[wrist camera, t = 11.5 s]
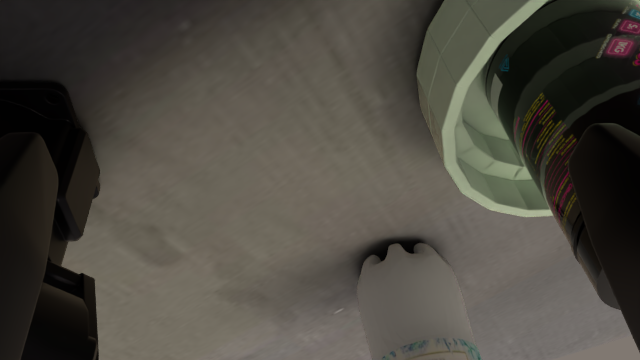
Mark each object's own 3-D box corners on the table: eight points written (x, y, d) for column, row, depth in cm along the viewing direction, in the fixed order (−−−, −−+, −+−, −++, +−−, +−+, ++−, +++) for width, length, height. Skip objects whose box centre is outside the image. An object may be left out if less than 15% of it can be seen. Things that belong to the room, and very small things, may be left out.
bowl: (390, 154, 25) (412, 222, 22) (457, -127, 16) (508, -80, 13) (616, 149, 27) (665, 211, 24) (787, -110, 18) (902, -64, 15)
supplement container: (634, 83, 23) (815, 272, 16) (490, 137, 24) (596, 332, 17) (642, -53, 18) (905, 126, 11) (464, 23, 20) (594, 225, 13)
